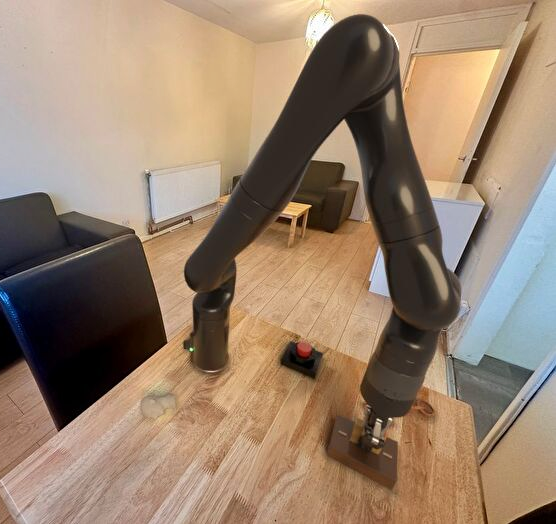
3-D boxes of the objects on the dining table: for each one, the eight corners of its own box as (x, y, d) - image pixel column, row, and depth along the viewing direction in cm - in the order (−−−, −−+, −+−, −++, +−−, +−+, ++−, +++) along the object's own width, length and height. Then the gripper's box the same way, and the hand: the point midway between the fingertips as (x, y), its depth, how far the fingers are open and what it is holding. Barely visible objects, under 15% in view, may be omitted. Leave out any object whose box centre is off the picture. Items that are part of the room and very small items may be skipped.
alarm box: (280, 364, 76) (282, 353, 74) (289, 346, 82) (291, 335, 80) (314, 379, 72) (317, 367, 70) (321, 359, 78) (324, 348, 76)
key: (371, 423, 62) (443, 426, 61) (372, 420, 61) (445, 424, 61) (360, 398, 67) (426, 401, 66) (361, 396, 66) (428, 398, 65)
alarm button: (294, 353, 75) (295, 348, 74) (298, 345, 78) (299, 340, 77) (308, 358, 73) (309, 353, 72) (312, 350, 76) (313, 345, 75)
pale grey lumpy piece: (140, 423, 63) (142, 399, 66) (176, 420, 63) (177, 396, 67) (137, 416, 60) (139, 391, 63) (175, 414, 60) (175, 389, 64)
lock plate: (326, 455, 56) (330, 445, 54) (334, 422, 62) (337, 413, 60) (391, 490, 50) (397, 480, 49) (393, 450, 56) (398, 441, 55)
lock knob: (349, 440, 55) (356, 423, 53) (350, 433, 56) (357, 416, 54) (378, 454, 53) (386, 437, 50) (379, 447, 54) (387, 430, 52)
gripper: (370, 345, 54) (348, 406, 61) (361, 399, 43) (337, 464, 51) (417, 361, 50) (388, 424, 58) (420, 424, 40) (384, 490, 48)
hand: (364, 442), depth 54 cm, fingers closed on lock knob
